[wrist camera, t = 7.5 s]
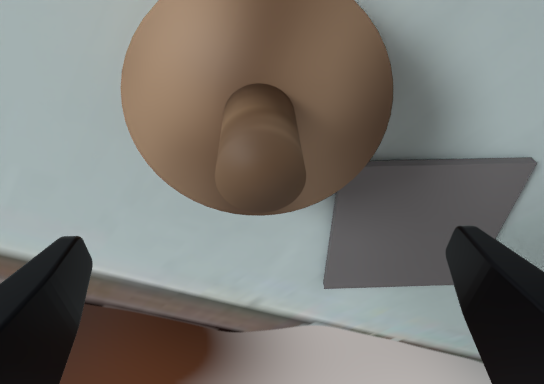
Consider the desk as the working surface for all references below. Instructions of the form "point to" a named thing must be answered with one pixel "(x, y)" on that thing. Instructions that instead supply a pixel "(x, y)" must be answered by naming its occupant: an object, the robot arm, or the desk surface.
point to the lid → (257, 99)
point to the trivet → (416, 217)
